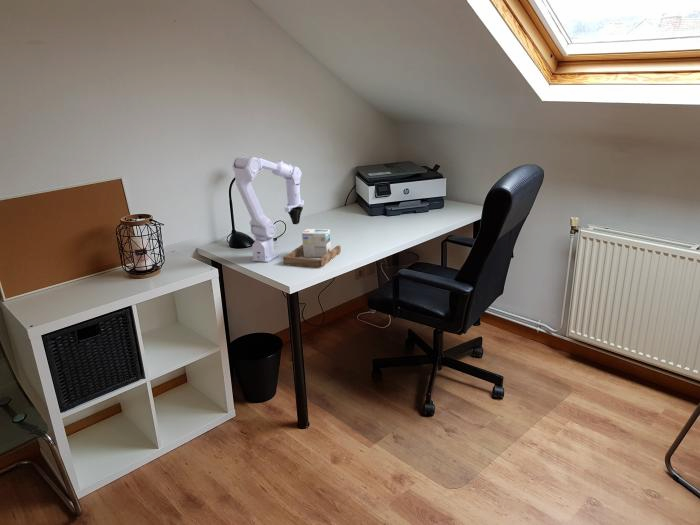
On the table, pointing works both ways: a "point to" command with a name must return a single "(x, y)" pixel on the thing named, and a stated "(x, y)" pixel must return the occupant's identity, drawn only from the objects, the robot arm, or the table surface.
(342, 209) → the table surface
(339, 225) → the table surface
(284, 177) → the robot arm
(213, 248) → the table surface
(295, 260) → the walnut holder
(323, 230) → the light bulb box
